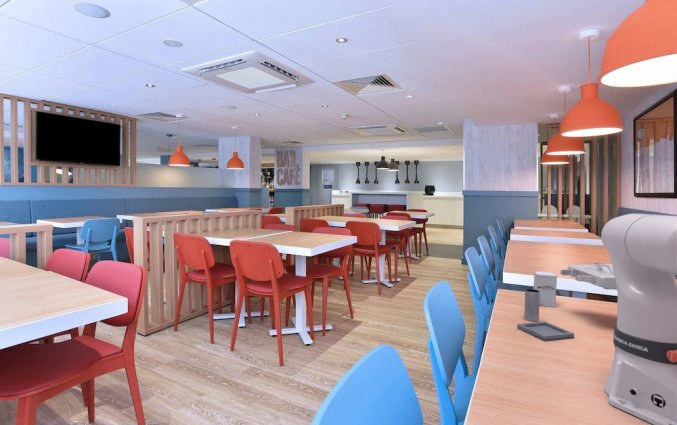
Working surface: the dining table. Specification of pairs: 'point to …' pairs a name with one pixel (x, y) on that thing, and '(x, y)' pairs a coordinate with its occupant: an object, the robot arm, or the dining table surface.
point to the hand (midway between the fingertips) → (568, 275)
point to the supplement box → (546, 287)
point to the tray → (545, 331)
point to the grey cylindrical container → (532, 305)
